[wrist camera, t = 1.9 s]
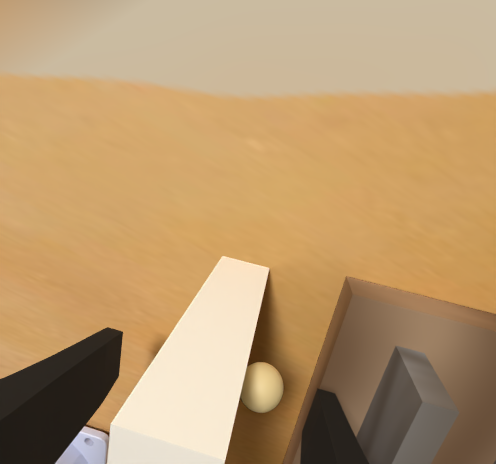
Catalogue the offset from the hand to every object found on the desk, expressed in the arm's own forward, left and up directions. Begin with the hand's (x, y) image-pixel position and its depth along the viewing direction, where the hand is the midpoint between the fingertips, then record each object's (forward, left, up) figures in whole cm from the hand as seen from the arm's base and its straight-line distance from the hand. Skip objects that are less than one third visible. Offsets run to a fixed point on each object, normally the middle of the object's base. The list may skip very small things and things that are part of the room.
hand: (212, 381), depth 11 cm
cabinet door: (0, 0, -3) cm, 3 cm away
